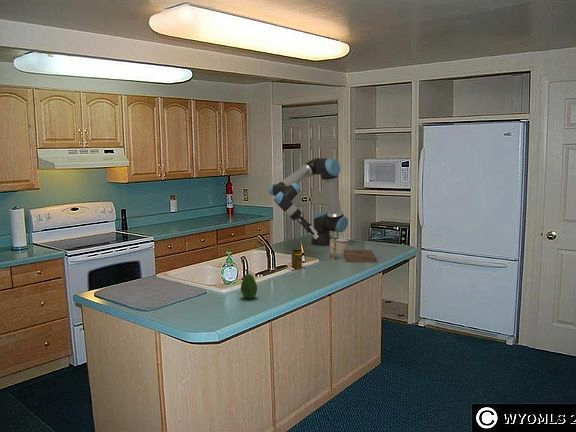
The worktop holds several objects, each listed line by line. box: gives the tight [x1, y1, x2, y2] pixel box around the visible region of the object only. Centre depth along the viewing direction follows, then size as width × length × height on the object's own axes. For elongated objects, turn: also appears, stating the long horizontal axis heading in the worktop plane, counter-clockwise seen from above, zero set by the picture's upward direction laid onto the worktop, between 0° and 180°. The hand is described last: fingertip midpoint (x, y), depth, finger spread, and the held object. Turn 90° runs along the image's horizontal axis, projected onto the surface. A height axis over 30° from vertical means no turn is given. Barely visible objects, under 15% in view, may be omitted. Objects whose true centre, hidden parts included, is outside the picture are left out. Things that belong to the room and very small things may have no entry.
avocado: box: [240, 273, 258, 299], centre depth 249 cm, size 8×8×12 cm
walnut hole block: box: [343, 249, 376, 263], centre depth 331 cm, size 16×18×4 cm
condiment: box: [291, 247, 305, 271], centre depth 306 cm, size 7×8×12 cm
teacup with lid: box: [335, 235, 350, 255], centre depth 349 cm, size 12×9×12 cm
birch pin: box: [329, 238, 337, 261], centre depth 331 cm, size 4×4×13 cm
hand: (316, 235), depth 329 cm, fingers open, 13 cm apart
